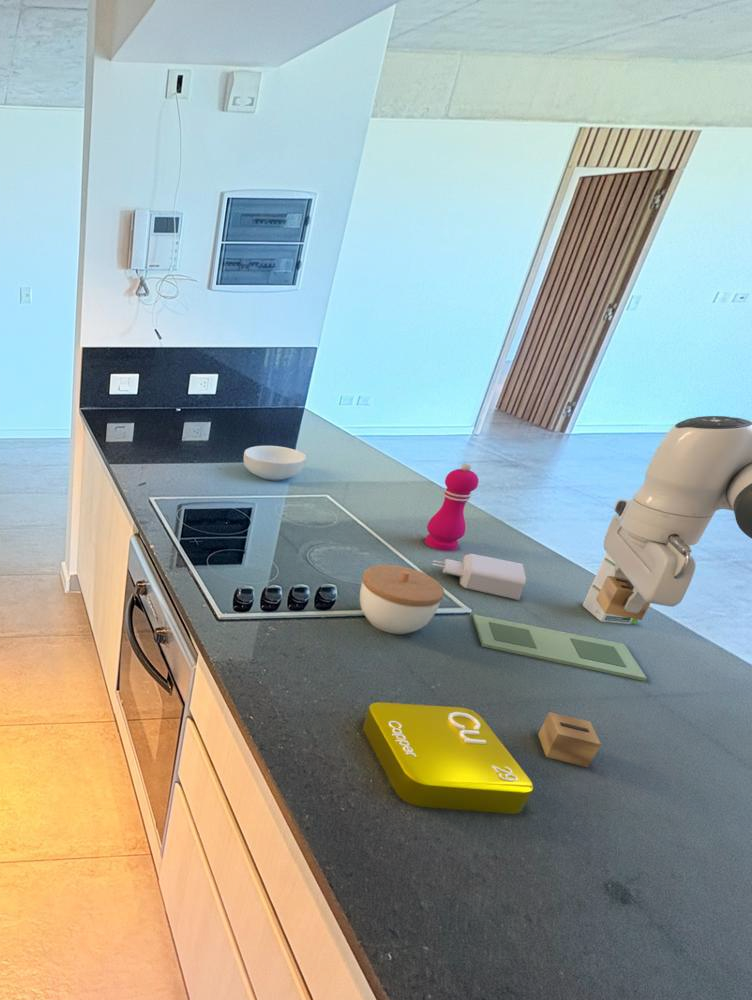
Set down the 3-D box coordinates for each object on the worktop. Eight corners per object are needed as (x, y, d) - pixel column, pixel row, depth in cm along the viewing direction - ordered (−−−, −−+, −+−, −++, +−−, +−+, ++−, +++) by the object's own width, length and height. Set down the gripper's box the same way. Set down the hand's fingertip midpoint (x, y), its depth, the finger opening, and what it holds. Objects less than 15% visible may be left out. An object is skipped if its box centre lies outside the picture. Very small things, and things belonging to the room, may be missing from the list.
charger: (430, 563, 133) (514, 582, 126) (428, 582, 126) (518, 602, 119) (436, 544, 131) (522, 561, 124) (435, 562, 124) (526, 581, 117)
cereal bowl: (297, 469, 186) (301, 446, 183) (306, 489, 172) (311, 465, 169) (239, 465, 190) (242, 442, 187) (242, 484, 175) (246, 460, 172)
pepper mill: (427, 536, 145) (453, 455, 136) (462, 546, 141) (491, 463, 132) (417, 546, 141) (443, 463, 132) (453, 556, 136) (483, 471, 127)
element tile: (357, 722, 90) (365, 697, 88) (465, 729, 89) (476, 704, 87) (401, 807, 77) (412, 780, 75) (529, 817, 76) (543, 790, 73)
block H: (630, 605, 101) (643, 580, 98) (641, 620, 97) (655, 594, 95) (595, 599, 102) (607, 574, 100) (604, 613, 99) (617, 588, 96)
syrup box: (600, 623, 113) (634, 553, 106) (580, 606, 118) (612, 538, 111) (635, 626, 112) (672, 556, 105) (613, 608, 117) (647, 541, 111)
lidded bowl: (445, 643, 108) (465, 589, 103) (376, 646, 107) (392, 592, 102) (401, 604, 119) (417, 554, 114) (339, 607, 118) (352, 556, 113)
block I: (576, 746, 86) (590, 720, 84) (587, 769, 82) (601, 743, 80) (536, 736, 88) (549, 710, 86) (545, 758, 84) (558, 732, 82)
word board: (622, 648, 106) (624, 643, 106) (644, 683, 98) (647, 677, 97) (472, 618, 114) (474, 613, 114) (481, 648, 106) (483, 642, 106)
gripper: (724, 557, 83) (676, 640, 89) (662, 502, 99) (625, 576, 106) (664, 547, 85) (621, 629, 92) (613, 496, 102) (579, 568, 108)
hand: (622, 600), depth 99 cm, fingers closed on block H, 4 cm apart
